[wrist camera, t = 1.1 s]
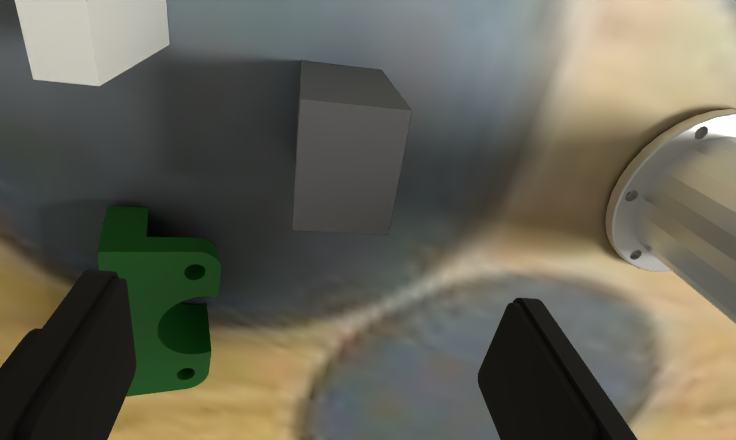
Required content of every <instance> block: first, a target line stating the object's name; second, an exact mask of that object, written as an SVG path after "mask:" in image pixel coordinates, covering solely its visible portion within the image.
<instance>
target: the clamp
mask: <svg viewBox="0 0 736 440" xmlns="http://www.w3.org/2000/svg"><path fill="white" fill-rule="evenodd" d="M98 270H101V271H115V272H117V274H118V276H119V278H124V279H126V281H127V287H128V295H129V304H130V312H131V320H132V329H133V337H134V346H135V354H136V371H135V375H134V378H133V381H132V383H131V385H130V388H129V390H128V392H127V395H126V396H134V395H142V394H150V393H157V392H165V391H173V390H181V389H188V388H191V387H194V386H196V385H198V384H200V383H201V382H203V381H204V380H205V379H206V377H207V376H208V373H209V366H210V358H211V343H210V333H209V324H208V314H207V304H197V305H187V304H181V303H180V302H182V301H185V300H188V299H191V298H196V297H216V298H218V293H219V285H220V277H221V264H220V257H219V251H218V249H217V247H216V246H215V245H214V244H213V243H212V242H210V241H208V240H206V239H203V238H189V237H148V207H124V206H108V207H107V211H106V215H105V220H104V225H103V229H102V234H101V239H100V243H99V248H98Z"/></svg>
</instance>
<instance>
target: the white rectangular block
mask: <svg viewBox="0 0 736 440" xmlns="http://www.w3.org/2000/svg"><path fill="white" fill-rule="evenodd" d="M15 3H16V8H17V12H18V16H19V20H20V25H21V29H22V33H23V38H24V42H25V46H26V50H27V55H28V59H29V63H30V67H31V72H32V76H33V79H34V80H43V81H53V82H63V83H73V84H83V85H92V86H101V85H102V84H104V83H106V82H107V81H109V80H111V79H112V78H114V77H116V76H117V75H119V74H121V73H123V72H124V71H126V70H128V69H129V68H131V67H133V66H134V65H136V64H138V63H139V62H141V61H143V60H145V59H146V58H148V57H150V56H151V55H153V54H155V53H156V52H158V51H160V50H161V49H163V48H165V47H166V46H168V45H170V42H169V30H168V18H167V5H166V0H15Z"/></svg>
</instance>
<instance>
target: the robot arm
mask: <svg viewBox="0 0 736 440" xmlns="http://www.w3.org/2000/svg"><path fill="white" fill-rule="evenodd" d="M605 224H606V233H607V236H608V239H609V241H610V244H611V246H612V247H613V248H614V250H615V251H616V252H617V253H618V254H619V255H620V256H621V257H622V258H623V259H624V260H625V261H626V262H628V263H629V264H631V265H633V266H635V267H637V268H639V269H643V270H647V271H655V272H667V271H673V272H674V273H675V274H676V275H677V276H679V277H680V278H681V279H682V280H684V281H685V282H686V283H687V284H688V285H690V286H691V287H692V288H693V289H694V290H696V291H697V292H698V293H699V294H700V295H702V296H703V297H704V298H705V299H706V300H708V301H709V302H710V303H711V304H712V305H714V306H715V307H716V308H717V309H718V310H720V311H721V312H722V313H723V314H724V315H726V316H727V317H728V318H729V319H730V320H732V321H733V322H734V323H735V324H736V110H734V109H726V110H715V111H710V112H707V113H703V114H700V115H696V116H694V117H691V118H689V119H687V120H685V121H682V122H680V123H678V124H676V125H675V126H673V127H671V128H670V129H668V130H667V131H665V132H663V133H662V134H660V135H659V136H658V137H657V138H655V139H654V140H653V141H652V142H651V143H649V144H648V145H647V146H646V147H644V148H643V149H642V151H641V152H640V153H639V154H638V155H637V156H636V157H635V158H634V159H633V160H632V161H631V162H630V164H629V165H628V166H627V168H626V169H625V171H624V172H623V174H622V175H621V176H620V178H619V180H618V182H617V184H616V186H615V187H614V189H613V191H612V193H611V197H610V200H609V203H608V206H607V211H606V220H605ZM135 371H136V354H135V346H134V337H133V329H132V320H131V312H130V304H129V295H128V287H127V281H126V279H124V278H119V276H118V274H117V272H115V271H101V270H86V271H85V272H84V273H83V274H82V275H81V277H80V278H79V279H78V281H77V282H76V283H75V285H74V286H73V287H72V289H71V290H70V292H69V293H68V294H67V296H66V297H65V298H64V300H63V301H62V302H61V304H60V305H59V306H58V308H57V309H56V310H55V312H54V313H53V315H52V316H51V317H50V319H49V320H48V321H47V323H46V324H45V325H44V327H43V328H42V329H33V330H31V331H30V332H29V333H28V334H27V335H26V336H25V337H24V338H23V339H22V341H21V342H20V343H19V344H18V346H17V347H16V348H15V350H14V351H13V352H12V353H11V355H10V356H9V357H8V359H7V360H6V361H5V363H4V364H3V365H2V366H1V368H0V440H107V439H108V437H109V434H110V432H111V430H112V427H113V425H114V423H115V420H116V418H117V416H118V413H119V411H120V409H121V406H122V404H123V402H124V399H125V397H126V395H127V392H128V390H129V388H130V385H131V383H132V381H133V378H134V375H135ZM478 384H479V387H480V390H481V392H482V395H483V397H484V400H485V402H486V405H487V407H488V409H489V412H490V414H491V417H492V419H493V422H494V424H495V427H496V429H497V432H498V434H499V437H500V439H501V440H638V439H637V438H636V437H635V435H634V434H633V432H632V431H631V429H630V428H629V426H628V425H627V424H626V422H625V421H624V419H623V418H622V416H621V415H620V413H619V412H618V411H617V409H616V408H615V406H614V405H613V403H612V402H611V401H610V399H609V398H608V396H607V395H606V393H605V392H604V390H603V389H602V388H601V386H600V385H599V383H598V382H597V380H596V379H595V377H594V376H593V375H592V373H591V372H590V370H589V369H588V367H587V366H586V364H585V363H584V362H583V360H582V359H581V357H580V356H579V354H578V353H577V352H576V350H575V349H574V347H573V346H572V344H571V343H570V341H569V340H568V339H567V337H566V336H565V334H564V333H563V331H562V330H561V328H560V327H559V326H558V324H557V323H556V321H555V320H554V318H553V317H552V316H551V314H550V313H549V311H548V310H547V308H546V307H545V305H544V304H543V303H542V302H541V301H540V300H538V299H529V298H516V299H515V300H514V301H513V303H509V304H508V306H507V307H506V310H505V312H504V314H503V317H502V319H501V321H500V324H499V326H498V328H497V331H496V333H495V335H494V338H493V340H492V342H491V345H490V347H489V349H488V351H487V354H486V356H485V358H484V361H483V363H482V365H481V368H480V370H479V373H478Z"/></svg>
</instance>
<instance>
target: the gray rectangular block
mask: <svg viewBox="0 0 736 440" xmlns="http://www.w3.org/2000/svg"><path fill="white" fill-rule="evenodd" d="M411 113H412V110H411V109H410V107H409V106H408V105H407V103H406V102H405V101H404V99H403V98H402V97H401V95H400V94H399V93H398V91H397V90H396V89H395V87H394V86H393V85H392V83H391V82H390V81H389V79H388V78H387V76H386V75H385V74H384V72H383V71H382V70H376V69H368V68H360V67H352V66H344V65H335V64H327V63H319V62H311V61H302V60H301V75H300V91H299V108H298V124H297V141H296V157H295V179H294V201H293V224H292V230H296V231H316V232H335V233H355V234H374V235H388V234H389V229H390V223H391V218H392V213H393V208H394V203H395V197H396V192H397V187H398V182H399V176H400V171H401V166H402V161H403V155H404V150H405V145H406V140H407V134H408V129H409V124H410V119H411Z"/></svg>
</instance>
